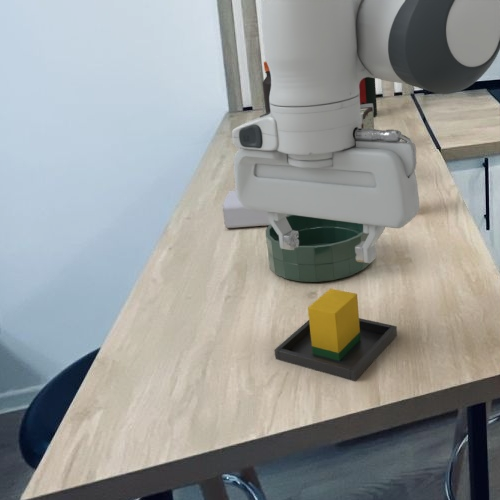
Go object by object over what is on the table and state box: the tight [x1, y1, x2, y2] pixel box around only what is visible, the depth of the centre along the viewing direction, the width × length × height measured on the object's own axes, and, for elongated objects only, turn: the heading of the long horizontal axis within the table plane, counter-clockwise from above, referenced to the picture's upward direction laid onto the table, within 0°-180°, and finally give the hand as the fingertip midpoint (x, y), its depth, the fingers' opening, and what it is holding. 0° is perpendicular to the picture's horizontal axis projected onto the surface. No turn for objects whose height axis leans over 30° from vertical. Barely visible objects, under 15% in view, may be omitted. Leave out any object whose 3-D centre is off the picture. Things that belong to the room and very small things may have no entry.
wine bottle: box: [359, 77, 378, 118], centre depth 181 cm, size 8×10×30 cm
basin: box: [265, 214, 371, 283], centre depth 97 cm, size 15×15×6 cm
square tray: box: [273, 317, 398, 382], centre depth 75 cm, size 10×10×2 cm
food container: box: [360, 104, 375, 129], centre depth 151 cm, size 12×6×10 cm, turn 159°
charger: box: [222, 189, 270, 229], centre depth 118 cm, size 5×9×15 cm
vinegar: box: [262, 60, 271, 113], centre depth 172 cm, size 7×7×20 cm
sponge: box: [307, 288, 361, 361], centre depth 74 cm, size 4×5×6 cm
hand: (326, 254), depth 71 cm, fingers open, 8 cm apart
